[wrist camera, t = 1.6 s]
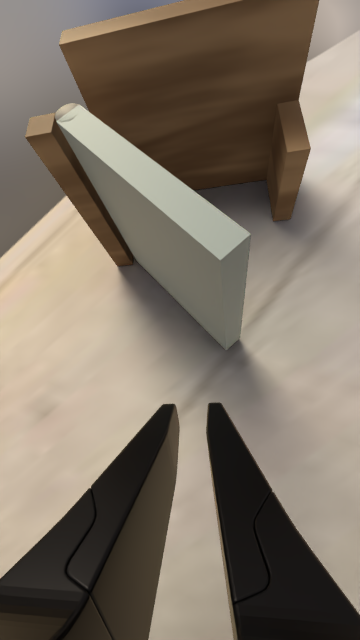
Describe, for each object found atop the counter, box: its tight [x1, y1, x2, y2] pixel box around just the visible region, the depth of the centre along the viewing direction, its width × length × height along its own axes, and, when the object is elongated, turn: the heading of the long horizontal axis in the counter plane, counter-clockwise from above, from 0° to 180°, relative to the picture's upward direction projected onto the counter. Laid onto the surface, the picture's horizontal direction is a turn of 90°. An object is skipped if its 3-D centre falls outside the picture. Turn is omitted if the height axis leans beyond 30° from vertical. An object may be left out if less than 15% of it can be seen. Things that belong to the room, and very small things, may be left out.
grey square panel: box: [55, 103, 251, 350], centre depth 18 cm, size 2×13×13 cm, turn 41°
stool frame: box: [25, 0, 319, 266], centre depth 21 cm, size 10×16×13 cm, turn 91°
